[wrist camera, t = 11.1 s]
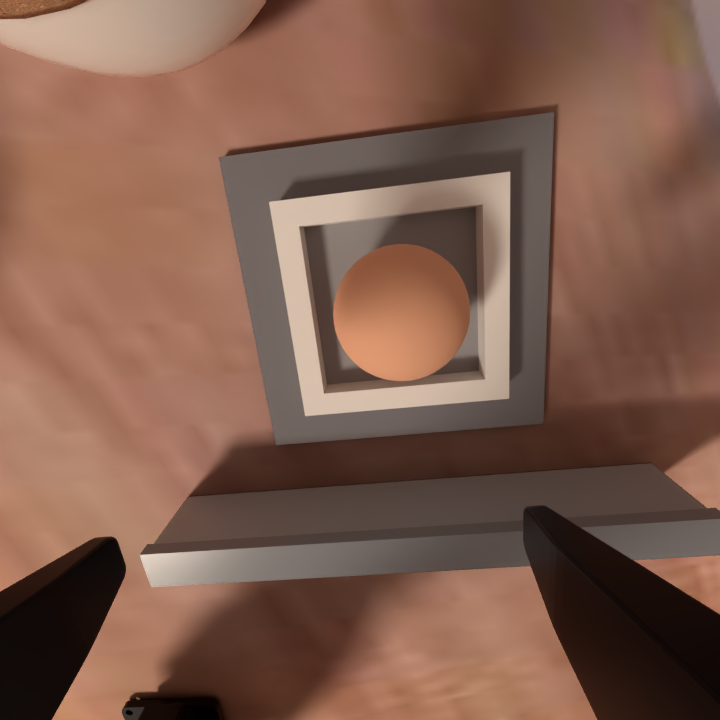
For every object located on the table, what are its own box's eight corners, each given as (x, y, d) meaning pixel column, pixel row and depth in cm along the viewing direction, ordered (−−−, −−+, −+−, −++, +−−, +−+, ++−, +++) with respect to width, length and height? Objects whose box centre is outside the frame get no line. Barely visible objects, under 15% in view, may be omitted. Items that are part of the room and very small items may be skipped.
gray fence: (648, 488, 19) (721, 555, 15) (194, 519, 21) (151, 587, 17) (652, 458, 19) (728, 518, 15) (186, 492, 21) (139, 554, 16)
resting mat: (539, 419, 19) (554, 435, 17) (278, 441, 19) (269, 458, 18) (549, 115, 15) (569, 100, 13) (222, 159, 16) (206, 150, 14)
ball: (455, 352, 17) (489, 394, 12) (345, 363, 17) (337, 409, 13) (450, 236, 16) (487, 234, 11) (331, 250, 16) (315, 254, 11)
